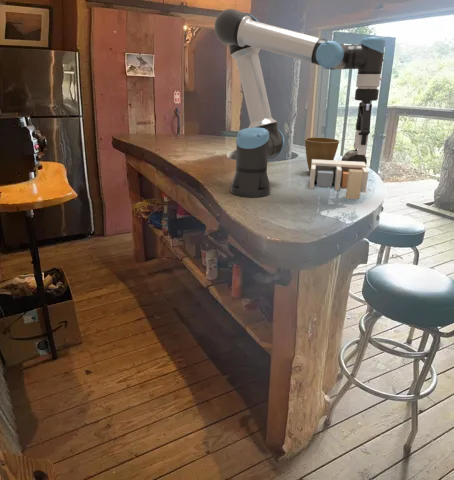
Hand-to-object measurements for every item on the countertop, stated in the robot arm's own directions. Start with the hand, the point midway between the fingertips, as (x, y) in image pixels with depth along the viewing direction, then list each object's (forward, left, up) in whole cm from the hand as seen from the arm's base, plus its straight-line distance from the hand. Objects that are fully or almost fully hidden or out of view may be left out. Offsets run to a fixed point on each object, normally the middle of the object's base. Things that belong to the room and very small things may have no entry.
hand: (359, 151), depth 144 cm
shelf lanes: (-5, +16, -17) cm, 24 cm away
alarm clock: (+3, +35, -17) cm, 39 cm away
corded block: (0, +8, -17) cm, 19 cm away
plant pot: (-12, +36, -17) cm, 42 cm away
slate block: (-10, +16, -17) cm, 26 cm away
